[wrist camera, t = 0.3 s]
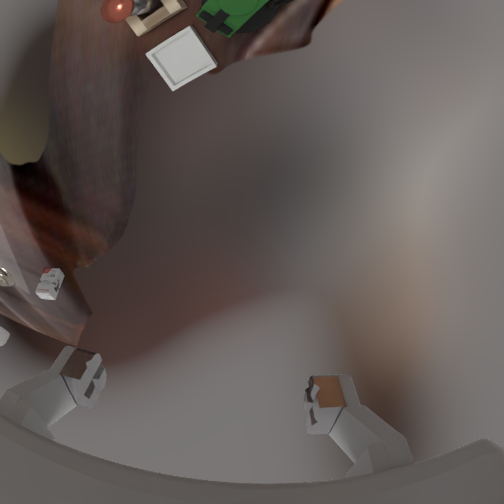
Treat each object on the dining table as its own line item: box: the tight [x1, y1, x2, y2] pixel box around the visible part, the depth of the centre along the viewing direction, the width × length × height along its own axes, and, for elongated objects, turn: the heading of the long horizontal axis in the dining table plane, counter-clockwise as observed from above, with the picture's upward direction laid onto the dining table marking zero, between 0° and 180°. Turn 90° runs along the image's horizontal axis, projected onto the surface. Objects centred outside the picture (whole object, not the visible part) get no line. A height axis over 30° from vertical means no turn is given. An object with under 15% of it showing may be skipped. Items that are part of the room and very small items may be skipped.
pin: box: [101, 0, 164, 23], centre depth 29 cm, size 5×5×17 cm
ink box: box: [35, 268, 64, 300], centre depth 92 cm, size 9×5×12 cm, turn 91°
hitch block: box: [126, 0, 187, 36], centre depth 33 cm, size 9×9×5 cm
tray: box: [146, 25, 218, 91], centre depth 43 cm, size 10×10×2 cm
